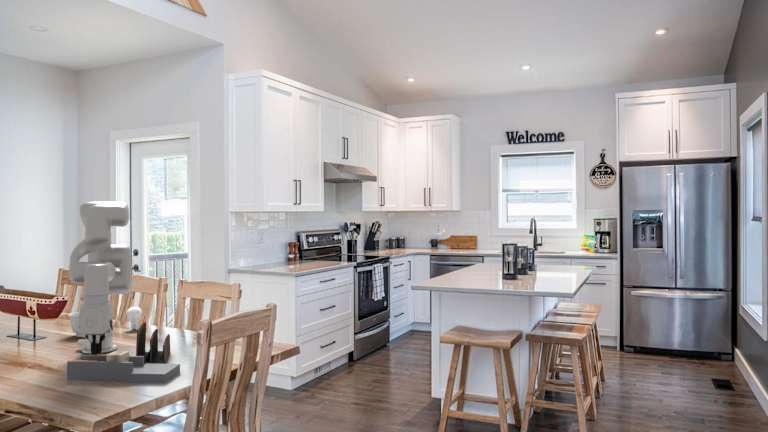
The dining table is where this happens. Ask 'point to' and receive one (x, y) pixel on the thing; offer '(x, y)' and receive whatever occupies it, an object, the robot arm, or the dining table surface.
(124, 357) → the birch block
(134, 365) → the grey stepped platform
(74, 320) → the teacup
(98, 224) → the robot arm
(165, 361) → the letter holder
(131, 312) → the light bulb
